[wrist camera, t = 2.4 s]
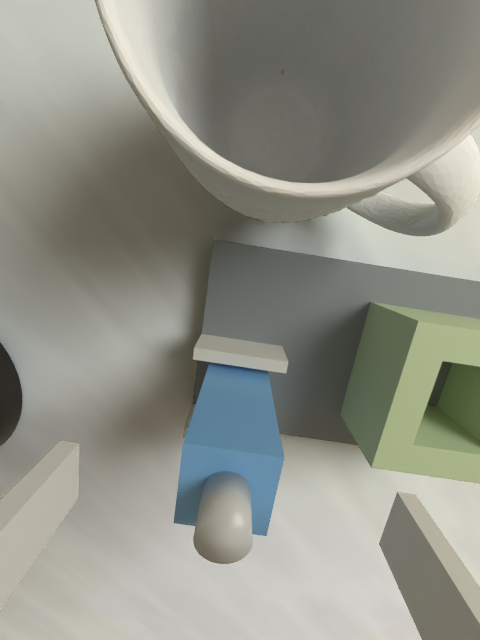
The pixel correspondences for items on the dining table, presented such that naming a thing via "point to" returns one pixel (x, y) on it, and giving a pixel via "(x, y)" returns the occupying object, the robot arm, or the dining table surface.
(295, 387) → the panel
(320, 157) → the mug
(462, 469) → the port
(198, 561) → the dining table surface
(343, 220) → the dining table surface
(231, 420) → the plug
